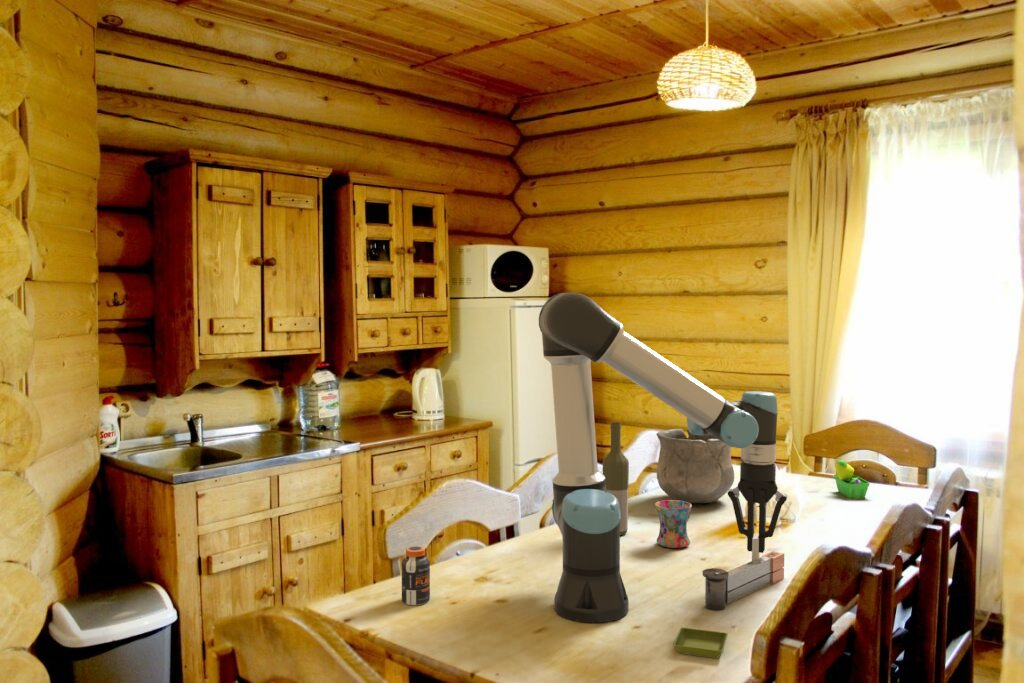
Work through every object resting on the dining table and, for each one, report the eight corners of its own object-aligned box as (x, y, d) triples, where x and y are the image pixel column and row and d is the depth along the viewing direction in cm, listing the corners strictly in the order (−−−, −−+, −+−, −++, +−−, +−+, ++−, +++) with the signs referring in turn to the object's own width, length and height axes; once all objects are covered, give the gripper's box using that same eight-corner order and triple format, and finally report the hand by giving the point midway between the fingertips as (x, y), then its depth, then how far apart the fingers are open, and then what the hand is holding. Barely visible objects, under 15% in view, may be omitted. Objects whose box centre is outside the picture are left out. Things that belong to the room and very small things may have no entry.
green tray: (672, 656, 149) (672, 644, 149) (680, 637, 158) (680, 626, 158) (722, 663, 146) (722, 651, 146) (728, 644, 155) (728, 632, 154)
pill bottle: (418, 608, 173) (417, 554, 172) (395, 602, 176) (395, 549, 175) (435, 599, 178) (435, 546, 177) (413, 594, 181) (413, 542, 180)
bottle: (621, 538, 221) (621, 425, 219) (597, 534, 225) (597, 423, 223) (633, 532, 227) (633, 422, 225) (610, 528, 231) (610, 420, 229)
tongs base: (719, 613, 168) (719, 578, 168) (697, 607, 172) (697, 572, 172) (788, 579, 188) (789, 548, 188) (767, 574, 192) (767, 543, 192)
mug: (677, 552, 209) (677, 510, 208) (647, 545, 215) (647, 504, 215) (704, 542, 217) (705, 502, 216) (675, 535, 224) (675, 496, 223)
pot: (677, 489, 278) (677, 424, 276) (746, 498, 264) (746, 431, 263) (642, 504, 257) (642, 435, 256) (715, 515, 244) (715, 442, 242)
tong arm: (729, 592, 173) (729, 577, 173) (717, 588, 175) (717, 574, 175) (784, 566, 189) (784, 553, 189) (772, 563, 191) (772, 550, 191)
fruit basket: (870, 499, 262) (871, 463, 261) (842, 499, 262) (842, 463, 262) (856, 490, 273) (856, 456, 273) (829, 491, 273) (829, 456, 273)
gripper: (725, 462, 185) (723, 567, 186) (787, 467, 180) (784, 575, 181) (730, 456, 192) (728, 557, 193) (789, 460, 187) (787, 564, 188)
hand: (755, 565), depth 187 cm, fingers closed
